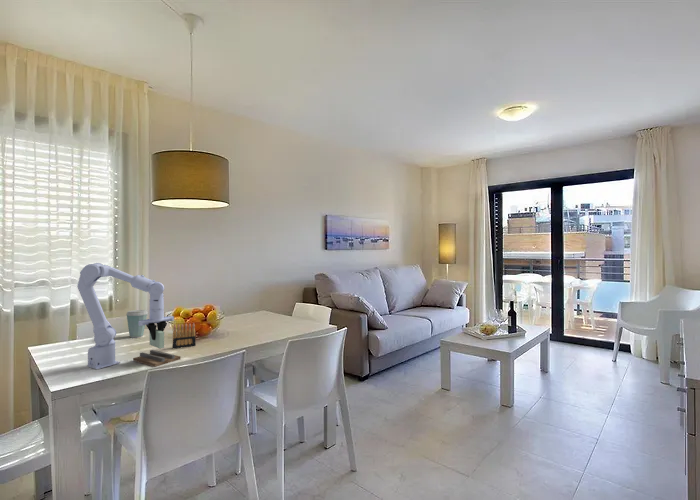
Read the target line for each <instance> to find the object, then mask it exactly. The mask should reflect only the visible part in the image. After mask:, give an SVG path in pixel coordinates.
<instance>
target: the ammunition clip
mask: <svg viewBox="0 0 700 500" xmlns="http://www.w3.org/2000/svg"><path fill="white" fill-rule="evenodd" d="M173 325H174V326H173V328H172V329H173V330H172V349H173V348H174V349H181V347H182V348H187V347H196V345H197V344H196V343H197V342H196V328H195V327H196V325H195V322H193V323H192V324H191V322H190V323H189V324H187V323H185V324H183V323H181V327H180V323H178V324H177V327H176V323H175V324H173Z"/></svg>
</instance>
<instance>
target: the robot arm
mask: <svg viewBox="0 0 700 500" xmlns="http://www.w3.org/2000/svg"><path fill="white" fill-rule="evenodd" d="M106 277H112V278H114V279H117V280H120V281H124V282H127V283H130V285H131V287H132V288H134V289H138V290H140V291H143V292H145V293H149V311H148V314H149V318H146V320H142V321H139V326H143V325H145V327H146V328H147V329H148V331H149V335H150V334H151V337H152V340H155V339H156V329H157V330H160V331H163V332H165V329H166V327H167V326H168V323H167V322H174V321H175V316H173V315H169V316H164V315H165V312H164V311H165V298H164V296H165V295H164V291H165V286H164V284H163V283H162V282H161V281H156V279H150V278H148V277H145V275H143V274H141V275H139V274H137V275H132V274H130V273H127V272H125V271H123V270H120V269H118V268H115V267H112V266H111V265H106V264H102V263H101V262H96V263H95V262H94V263H88V264H86V265H85V266H83V268H82V269H81V270H80V271H79V279H78V282H77V290H78V292H79V294H80V297H81V299H82V301H83V303H84V306H85V309H86V311H87V314H88V315H89V318H90V320H91V323H92V325H93V328H92V329H93V334H94V335H93V336H94V337H93V341H94V343H95V344H94V345H93V346H91V347H89V348H88V350H87V365H86V367H88V368H91V369H93V370H101V369H103V368H107V367H111V366H115V365H118V364H120V363H121V362H120V361H117V360H116V340H115V338H116V336H117V330H116V329H115V328H114V327H113V326H112V325H111V322H109V321H108V320H107V317H106V315H105V313H104V310H103V307H102V305H101V302H100V301H99V300H100V299H99V297H98V295H97V293H96V291H95V287H94V286H95V284H96V283H97V282H98V280H99V279H101V278H106Z"/></svg>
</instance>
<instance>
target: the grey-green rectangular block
mask: <svg viewBox="0 0 700 500" xmlns="http://www.w3.org/2000/svg"><path fill="white" fill-rule="evenodd" d="M149 345H150V346H153V347H155V348H158V349H160V350H161V349H165V331H160V330H158V328H156V339H155V340H152V337H151V334H150V333H149Z"/></svg>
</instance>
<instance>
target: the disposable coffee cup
mask: <svg viewBox="0 0 700 500" xmlns="http://www.w3.org/2000/svg"><path fill="white" fill-rule="evenodd" d="M148 314H149V311H148V309H134V310H133V309H132V310H128V311H127V312H126V315H125V316H126V320H127V326H128V327H127V328H128V334H129V338H132V339H135V338H142V337H144V334H145V333H144V332H145V328H146V325H143V326H139V321H142V320H146V319H148V318H147V316H148Z"/></svg>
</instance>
